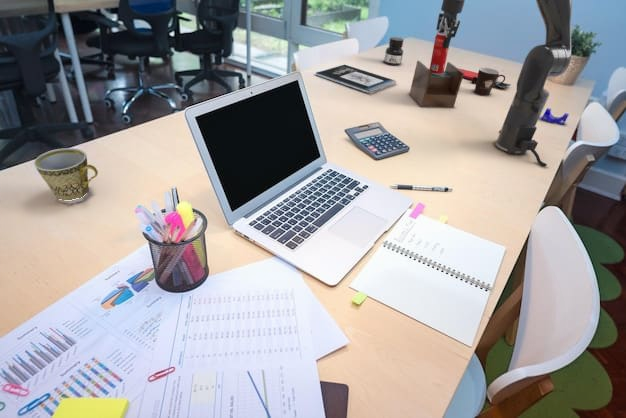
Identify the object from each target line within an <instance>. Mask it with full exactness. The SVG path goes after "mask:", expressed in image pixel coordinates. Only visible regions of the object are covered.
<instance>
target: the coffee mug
mask: <svg viewBox="0 0 626 418" xmlns="http://www.w3.org/2000/svg"><path fill="white" fill-rule="evenodd" d="M477 73H478V77H477V82H476V84H475V88H474V91H473V92H474V94H476V95H479V96H483V97H488V96H489V95H490V93H491V92H492V89H493V88H496V87H499V86H498V85H500V84H502V83H505V81H506V76H505V75H504V74H500V71H499V70H497V69H495V68H491V67H479V69H478V71H477ZM500 77H503V80H502V81H500V82H501V83H499V84H497V85H494V83H495V81H496V79H497V78H498V79H499V78H500Z"/></svg>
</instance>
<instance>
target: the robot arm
mask: <svg viewBox="0 0 626 418" xmlns="http://www.w3.org/2000/svg"><path fill="white" fill-rule="evenodd" d="M465 1H466V0H442V3H441V8H440V11H442V12H443V13H441V12H439V14H438V19H437V24H436V28H435V29H436V31H437V33H446V34H445V39H444V43H443V48H448V47H449V48H450V43H451V40H452V39H453V38H455V37H456V35H457V32H458V29H459V26H460V25H461V21H460V20H458V19H457V18H458V14H461V13H462V12H463V8H464V5H465ZM535 2H536V5H537V9H538V11H539V13H540V16H541V18H542V21H543V23H544V28H545V41H544V42H545V43H543V44H538V45H535V46H534V47H532V48H531V49H530V50H529V52H528V53H527V55H526V56H525V58H524V61H523V63H522V66H521V69H520V72H519V74H518V75H519V76H518V79H517V81H516V91H515V94H514V96H513V99H512V101H511V104H510V107H509V109H508V111H507V114H506V116H505V118H504V120H503V124H502V126H501V129H500V130H499V131H498V137H497V139H496V140H495V144H494V145H495V146H496V148H497V149H500V150H501V151H503V152H506V153H507V154H509V155H514V154H515V155H526V153H527V151H530V152H531V153H532V154H533V155H534V157H535V160H536V161H537V163H538V164H539V165H540V166H541V167H542V166H543V167H547V166H548V164H547V163H546V162H543V161H542V160H541V157H540V155H539V154H538V152H537V151H536V148H537V146H538V144H539V142H538V141H536V140H535V139H533V137H534V135H535V134H536V131H537V129H538V128H537V124H538V121H539V119H540V117H541V115H542V112H543V111H544V108H545V106H546V103H547V102H548V100H549V97H550V92H549V91H548V90H547V89H545V85H546V82H547V79H548V78H556V77H559V76H562V75H563V74H564V73H566V72H567V70H568V69H569V67H570V64H571V60H572V28H571V26H572V24H571V23H572V8H573V7H572V6H573V0H535Z"/></svg>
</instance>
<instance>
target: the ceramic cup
mask: <svg viewBox="0 0 626 418" xmlns="http://www.w3.org/2000/svg"><path fill="white" fill-rule="evenodd" d="M35 158H36V159H35V160H34V161H33V164H34V167H35V169H36V170H37V172H38V173H39V175H40V177H41V178H42V179H43V180H44V182H45V183H46V185H48V188H50V190H51V192H52V193H53V195H54V197H55V199H56V200H57V202H59V203H62V204H67V205H68V204H69V205H72V204H76V203H79V202H83V201H85V200H86V199H87V198H88V197H89V196H90V188H89V183H90V182H91V181H93V180H94V179H95V178H96V177H97V176H98V174H99V171H98V169H97V168H96V167H95V166H94V165H92V164H88V158H87V153H86V152H85V151H84V150H82V149H80V148H79V149H78V148H72V147H63V148H57V149H56V148H55V149H53V150H49V151H46V152H44V153H41V154H40V155H38V156H37V157H35ZM89 170H92V171H93V172H94V175H93V176H92V177H90V178H88V177H89V176H88V175H89V174H88V172H89ZM86 193H87V194H86ZM85 194H86V195H85ZM84 195H85V196H84ZM83 196H84V197H83ZM81 197H82V198H81ZM76 198H79V199H76ZM58 199H62V200H58ZM72 199H76V200H72ZM64 200H72V201H64Z"/></svg>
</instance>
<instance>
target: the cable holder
mask: <svg viewBox="0 0 626 418" xmlns="http://www.w3.org/2000/svg"><path fill="white" fill-rule="evenodd" d="M569 115H570V113H567V112H564V114H563V115H562V116H554V115H553V114H552V108H549V107H547V108H546V109H545V111H544V113H543V115H542V117H541V121H544V122H546V123H550V124H552V123H555V124H558V125H562V126H564V125H565V123H566V121H567V120H568V118H569Z"/></svg>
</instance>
